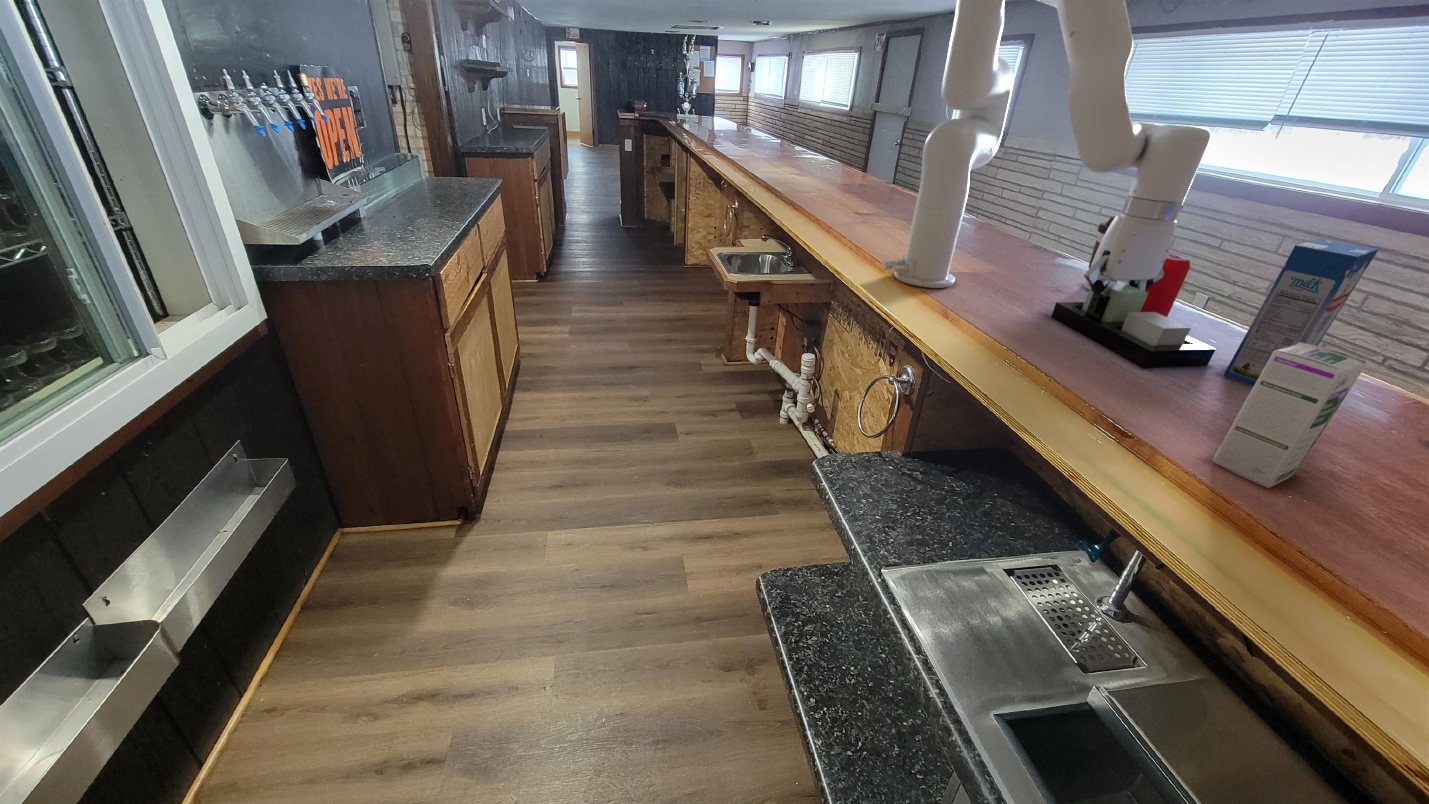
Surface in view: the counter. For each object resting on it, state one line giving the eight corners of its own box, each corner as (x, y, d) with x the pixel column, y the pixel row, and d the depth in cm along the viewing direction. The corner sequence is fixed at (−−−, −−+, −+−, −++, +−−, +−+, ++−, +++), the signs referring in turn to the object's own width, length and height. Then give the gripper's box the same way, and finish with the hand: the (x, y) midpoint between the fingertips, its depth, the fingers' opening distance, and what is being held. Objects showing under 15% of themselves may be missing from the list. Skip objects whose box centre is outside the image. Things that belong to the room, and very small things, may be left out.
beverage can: (1153, 312, 111) (1181, 251, 105) (1172, 324, 105) (1202, 261, 100) (1120, 310, 111) (1146, 249, 105) (1137, 321, 106) (1165, 258, 100)
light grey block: (1148, 361, 90) (1163, 328, 87) (1115, 343, 96) (1128, 312, 93) (1175, 360, 91) (1191, 327, 88) (1140, 342, 97) (1154, 311, 94)
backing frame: (1142, 368, 88) (1150, 351, 86) (1050, 317, 106) (1056, 302, 105) (1207, 366, 89) (1216, 348, 88) (1105, 316, 108) (1111, 301, 106)
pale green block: (1109, 324, 97) (1122, 293, 94) (1081, 310, 103) (1092, 280, 100) (1135, 323, 98) (1148, 292, 95) (1105, 309, 104) (1117, 280, 101)
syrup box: (1269, 490, 61) (1349, 371, 54) (1208, 460, 66) (1274, 347, 58) (1293, 476, 64) (1373, 361, 56) (1232, 449, 68) (1299, 339, 61)
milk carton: (1273, 393, 82) (1357, 256, 72) (1222, 375, 86) (1295, 245, 76) (1297, 378, 87) (1379, 248, 77) (1248, 362, 91) (1319, 238, 81)
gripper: (1175, 206, 96) (1132, 307, 105) (1087, 205, 93) (1051, 309, 102) (1216, 215, 90) (1166, 322, 99) (1122, 214, 87) (1080, 324, 96)
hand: (1108, 314), depth 100 cm, fingers closed on pale green block, 5 cm apart
